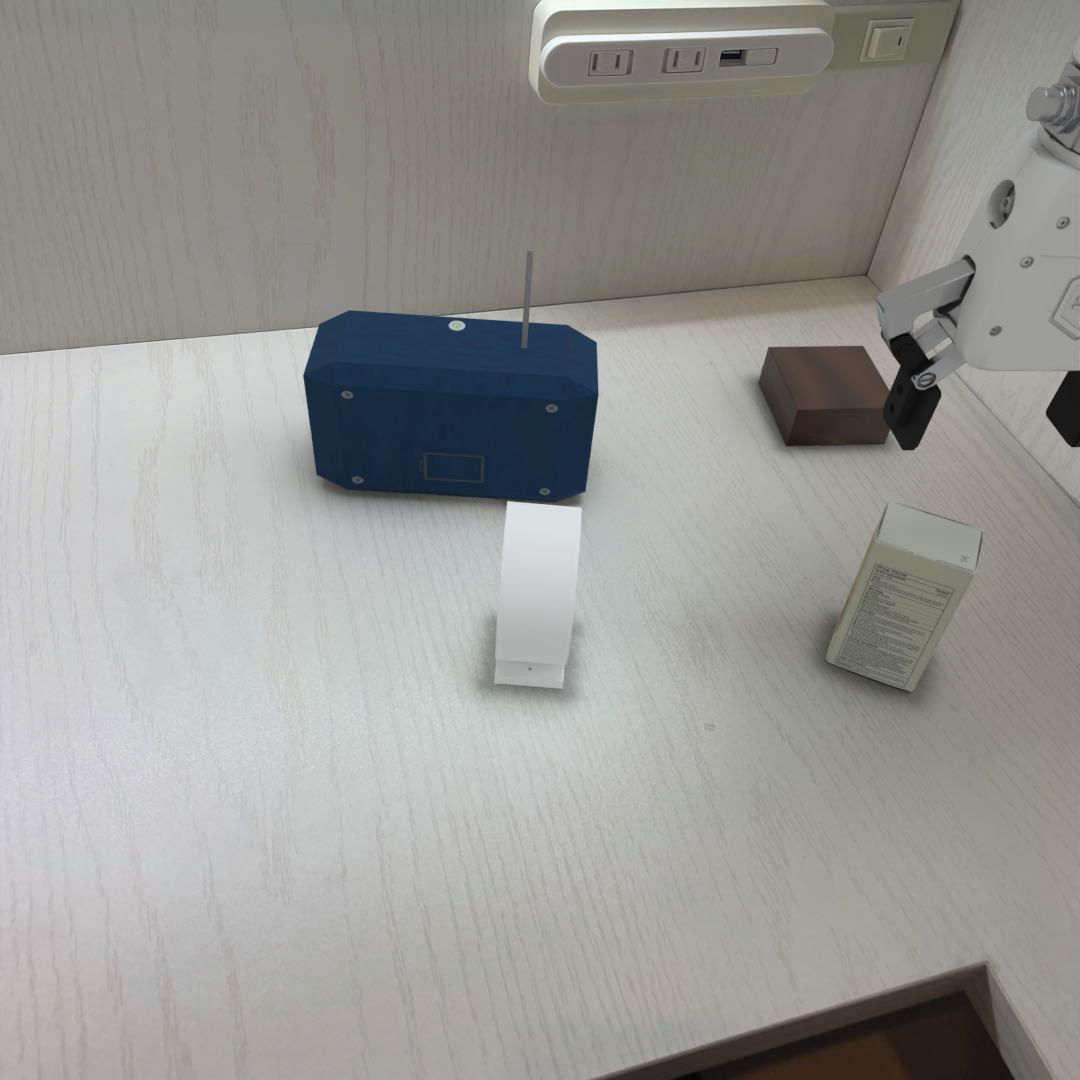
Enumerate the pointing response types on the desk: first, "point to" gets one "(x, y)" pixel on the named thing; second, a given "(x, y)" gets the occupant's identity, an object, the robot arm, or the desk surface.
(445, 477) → the radio
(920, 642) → the cosmetic box
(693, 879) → the desk surface
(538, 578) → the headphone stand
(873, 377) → the walnut block
